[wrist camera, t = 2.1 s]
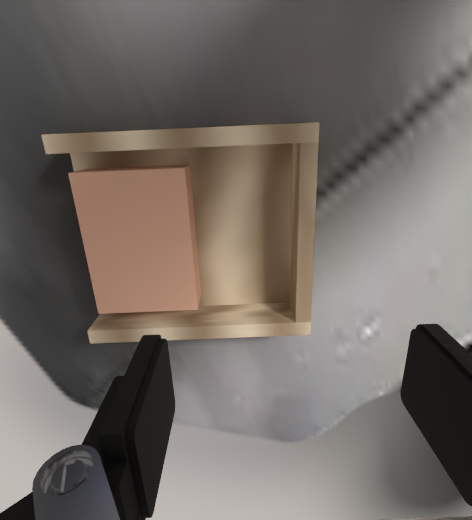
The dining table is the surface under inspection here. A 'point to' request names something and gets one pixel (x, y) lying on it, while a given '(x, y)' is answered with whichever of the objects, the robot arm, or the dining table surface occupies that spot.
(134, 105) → the dining table surface
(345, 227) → the dining table surface
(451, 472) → the robot arm
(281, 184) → the wooden tray
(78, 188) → the cover plate
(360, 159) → the dining table surface
